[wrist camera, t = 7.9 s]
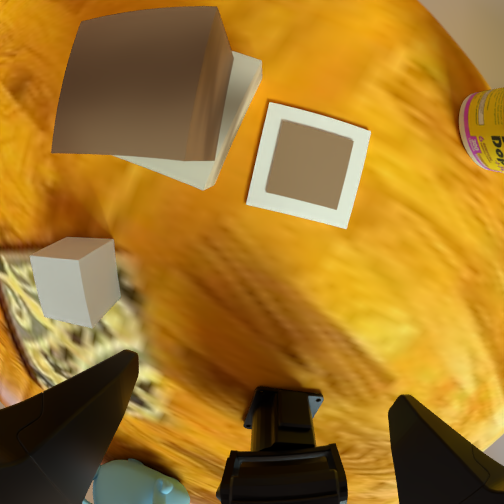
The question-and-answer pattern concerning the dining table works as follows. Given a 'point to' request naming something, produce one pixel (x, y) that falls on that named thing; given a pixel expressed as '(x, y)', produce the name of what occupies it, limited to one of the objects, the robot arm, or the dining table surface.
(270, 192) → the walnut card
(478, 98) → the supplement bottle
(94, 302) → the grey cube
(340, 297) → the dining table surface
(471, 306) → the dining table surface
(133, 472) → the decorative pot
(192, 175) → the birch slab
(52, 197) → the dining table surface
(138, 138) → the walnut cube
